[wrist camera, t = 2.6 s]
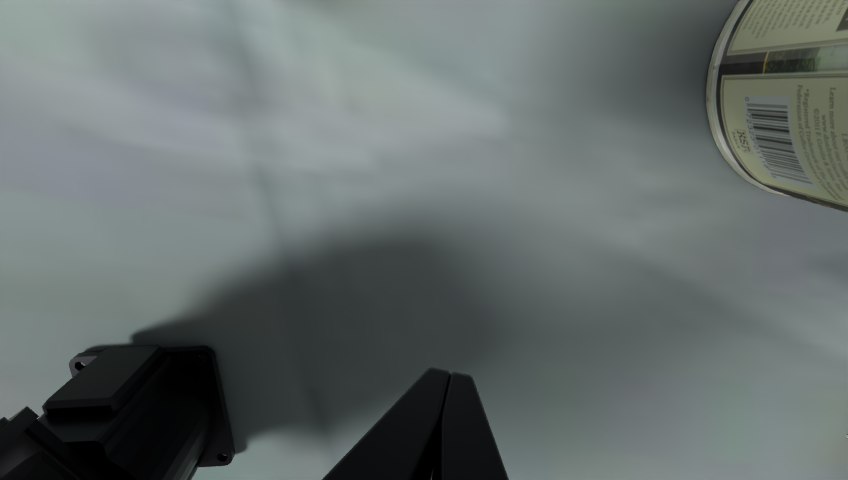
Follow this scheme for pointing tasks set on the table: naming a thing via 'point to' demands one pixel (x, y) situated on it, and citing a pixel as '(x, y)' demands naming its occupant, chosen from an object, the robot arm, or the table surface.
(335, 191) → the table surface
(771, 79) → the coffee can
